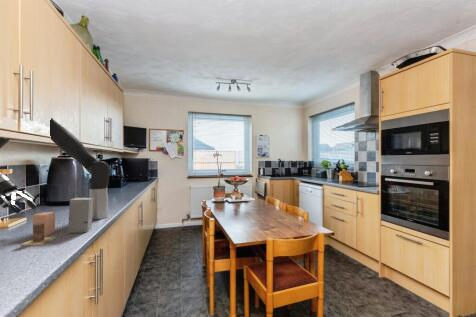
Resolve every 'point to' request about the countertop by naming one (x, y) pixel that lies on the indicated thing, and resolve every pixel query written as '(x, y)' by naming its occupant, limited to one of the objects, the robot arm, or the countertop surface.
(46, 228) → the tan rectangular prism
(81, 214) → the skincare box
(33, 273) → the countertop surface
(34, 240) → the wooden peg stand
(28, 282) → the countertop surface
